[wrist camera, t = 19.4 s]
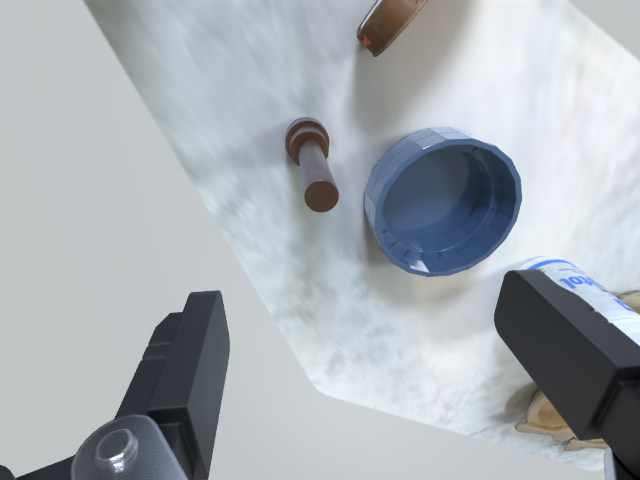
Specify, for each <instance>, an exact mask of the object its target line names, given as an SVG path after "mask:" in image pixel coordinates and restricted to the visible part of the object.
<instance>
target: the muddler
mask: <svg viewBox="0 0 640 480" xmlns="http://www.w3.org/2000/svg"><path fill="white" fill-rule="evenodd" d="M286 149H287V152H288V154H289V155H290V157H291V158H292V159H293V161H294V162H295V163H296V164H297V165H298V166H300V171H301V178H302V185H303V192H304V198H305V202H306V204H307V206H308V207H309V208H310V209H312V210H313V211H316V212H326V211H329V210H331V209H332V208H333V207H334V206H335V205H336V203H337V201H338V198H339V193H338V189H337V187H336V184H335V182H334V179H333V177H332V174H331V172H330V169H329V167H328V164H327V161H326V158H327V156H328V152H329V137H328V134H327V132H326V130H325V128H324V126H323V125H322V124H321V123H320V122H319V121H317V120H316V119H313V118H309V117H304V118H300V119H297V120H295V121H294V122H293V123H292V124H291V125H290V126H289V128H288V130H287V132H286Z"/></svg>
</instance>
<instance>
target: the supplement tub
mask: <svg viewBox="0 0 640 480" xmlns="http://www.w3.org/2000/svg"><path fill="white" fill-rule="evenodd" d="M526 269H539V270H541V271H542V272H543V273H545V274H546V275H547V276H548V277H549V278H550V279H552V280H553V281H554V282H555V283H556V284H558V285H560V286H561V287H563V288H565V289H567V290H569V291H571V292H573V293H575V294H577V295H579V296H580V297H581V298H582V299H584V300H585V301H586V302H587V303H589V304H590V305H591V306H592V307H593V308H595V311H598V312H599V313H601V314H602V315H603V316H604V317H605V318H607V319H608V322H609V323H613V324H614V325H615V326H616V327H617V328H619V329H620V330H621V331H622V332H624V333H625V334H626V335H627V336H628V337H630V338H631V339H632V340H633V341H634V342H636V343H637V344H638V345H639V346H640V315H639V314H638V313H636V312H635V311H634V310H632V309H631V308H630V307H628V306H627V305H626V304H624V303H623V302H622V301H621V300H619V299H618V298H617V297H615V296H614V295H612V294H611V293H610V292H609V291H607V290H606V289H605V288H603V287H602V286H601V285H599V284H598V283H597V282H595V281H594V280H593V279H591V278H590V277H589V276H587V275H586V274H585V273H583V272H582V271H581V270H579V269H578V268H577V267H575V266H574V265H573V264H571V263H570V262H569V261H567V260H565V259H563V258H561V257H557V256H544V257H539V258H536V259H533V260H530V261H528V262H526V263H525V264H523V265H522V266H520V267H519V268H518V269H517V270H526Z"/></svg>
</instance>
